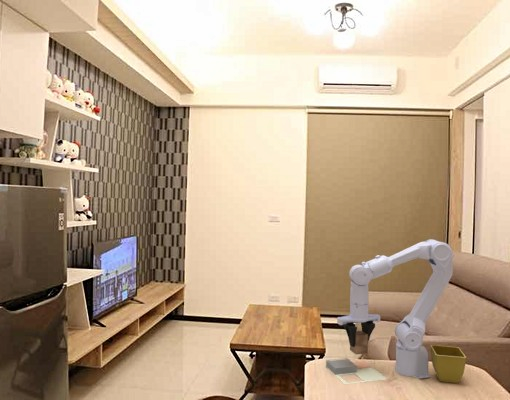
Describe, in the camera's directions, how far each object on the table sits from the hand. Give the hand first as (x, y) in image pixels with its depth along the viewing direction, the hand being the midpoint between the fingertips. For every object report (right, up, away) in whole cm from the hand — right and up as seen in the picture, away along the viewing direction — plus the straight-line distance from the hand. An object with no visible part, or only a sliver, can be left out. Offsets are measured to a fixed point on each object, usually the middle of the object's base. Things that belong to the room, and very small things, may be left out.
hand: (358, 345), depth 137 cm
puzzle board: (-2, -9, -3) cm, 9 cm away
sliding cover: (-6, -8, 0) cm, 10 cm away
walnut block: (0, -2, 0) cm, 2 cm away
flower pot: (+27, -10, -4) cm, 29 cm away
